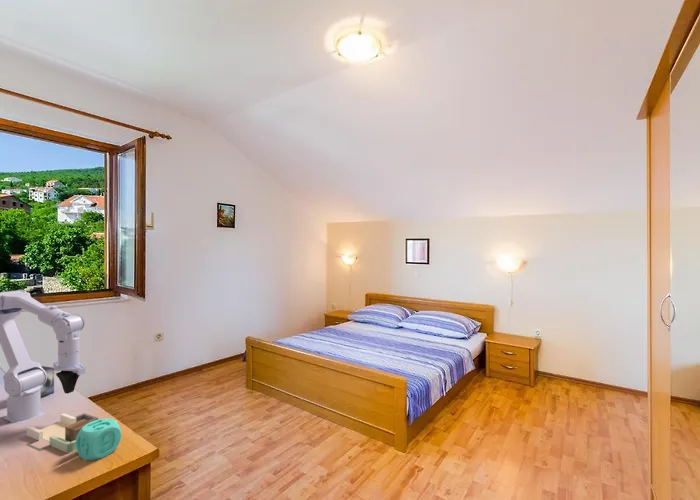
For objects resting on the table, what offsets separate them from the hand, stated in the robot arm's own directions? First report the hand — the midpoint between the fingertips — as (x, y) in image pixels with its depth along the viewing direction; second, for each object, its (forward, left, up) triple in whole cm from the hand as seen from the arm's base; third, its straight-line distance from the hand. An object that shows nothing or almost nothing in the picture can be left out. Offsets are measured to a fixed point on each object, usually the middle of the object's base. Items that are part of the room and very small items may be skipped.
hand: (69, 392), depth 117 cm
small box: (-32, +5, -10) cm, 34 cm away
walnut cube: (+17, -6, -9) cm, 20 cm away
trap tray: (+10, -6, -10) cm, 15 cm away
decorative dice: (+27, -7, -10) cm, 30 cm away
